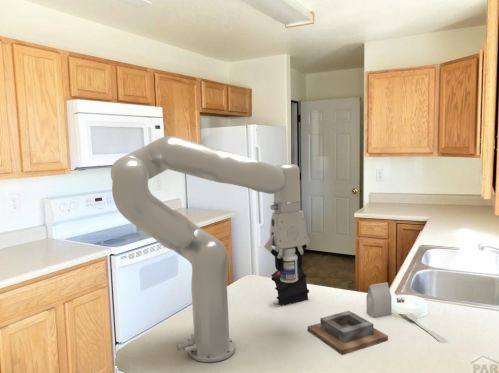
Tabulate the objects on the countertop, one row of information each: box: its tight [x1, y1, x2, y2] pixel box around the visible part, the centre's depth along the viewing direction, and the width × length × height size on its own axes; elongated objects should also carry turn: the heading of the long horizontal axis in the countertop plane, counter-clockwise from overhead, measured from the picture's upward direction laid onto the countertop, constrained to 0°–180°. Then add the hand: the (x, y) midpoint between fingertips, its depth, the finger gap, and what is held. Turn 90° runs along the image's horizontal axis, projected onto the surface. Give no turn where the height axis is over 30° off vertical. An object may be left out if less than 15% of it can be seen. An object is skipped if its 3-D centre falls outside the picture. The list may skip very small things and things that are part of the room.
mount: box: [307, 310, 389, 356], centre depth 114 cm, size 16×16×4 cm
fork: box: [402, 312, 449, 344], centre depth 118 cm, size 3×21×3 cm, turn 15°
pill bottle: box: [280, 247, 298, 283], centre depth 116 cm, size 5×5×10 cm
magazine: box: [270, 263, 310, 306], centre depth 140 cm, size 4×13×15 cm, turn 117°
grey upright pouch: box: [365, 281, 392, 319], centre depth 127 cm, size 4×7×10 cm, turn 109°
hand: (288, 268), depth 116 cm, fingers closed on pill bottle, 5 cm apart
